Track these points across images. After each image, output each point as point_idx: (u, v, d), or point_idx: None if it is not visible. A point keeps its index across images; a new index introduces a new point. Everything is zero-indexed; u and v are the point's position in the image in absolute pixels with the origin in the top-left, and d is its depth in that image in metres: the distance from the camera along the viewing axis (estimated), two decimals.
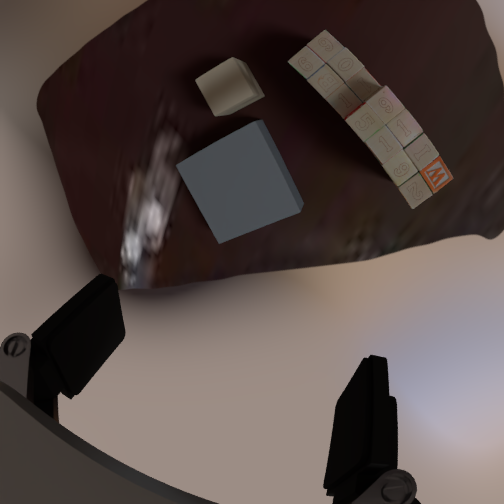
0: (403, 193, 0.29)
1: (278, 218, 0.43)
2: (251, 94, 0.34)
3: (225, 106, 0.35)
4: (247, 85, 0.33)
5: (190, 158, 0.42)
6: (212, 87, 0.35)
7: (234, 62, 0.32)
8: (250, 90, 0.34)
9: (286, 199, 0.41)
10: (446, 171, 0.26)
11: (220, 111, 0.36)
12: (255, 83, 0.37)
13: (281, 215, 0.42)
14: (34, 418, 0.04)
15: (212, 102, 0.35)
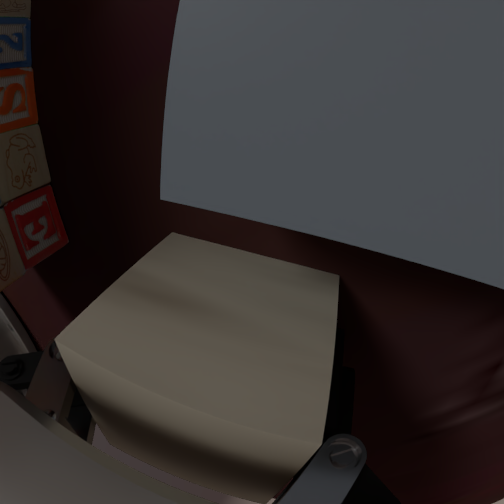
0: None
1: None
2: (64, 349, 0.06)
3: (218, 427, 0.05)
4: (76, 380, 0.06)
5: None
6: (223, 476, 0.07)
7: (107, 437, 0.08)
8: (67, 360, 0.06)
9: None
10: None
11: (266, 436, 0.05)
12: None
13: None
14: (34, 418, 0.04)
15: (269, 467, 0.05)
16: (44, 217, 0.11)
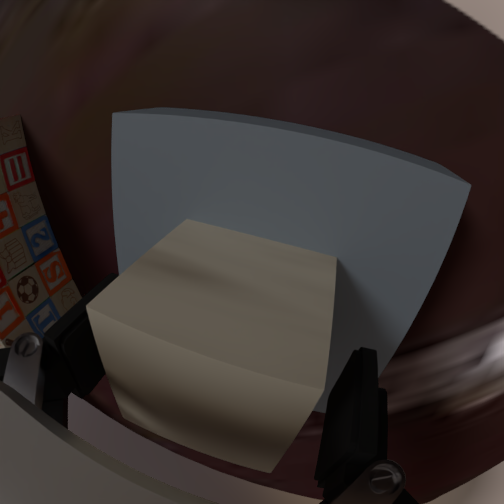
0: None
1: (180, 123, 0.10)
2: (94, 314, 0.07)
3: (234, 377, 0.06)
4: (101, 347, 0.07)
5: None
6: (234, 439, 0.08)
7: (122, 409, 0.09)
8: (95, 327, 0.07)
9: (129, 169, 0.11)
10: None
11: (276, 383, 0.06)
12: None
13: (165, 128, 0.10)
14: (34, 418, 0.04)
15: (277, 422, 0.07)
16: None
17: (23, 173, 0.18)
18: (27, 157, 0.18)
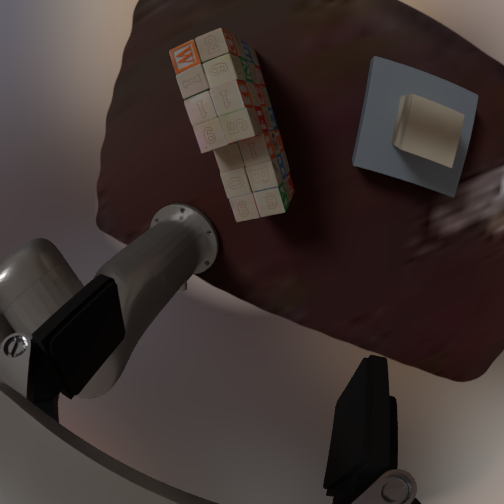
0: (225, 45, 0.24)
1: (401, 66, 0.26)
2: (415, 96, 0.23)
3: (448, 111, 0.22)
4: (411, 108, 0.23)
5: (436, 189, 0.31)
6: (444, 142, 0.24)
7: (404, 142, 0.25)
8: (413, 100, 0.23)
9: (380, 76, 0.27)
10: (174, 58, 0.25)
11: (456, 112, 0.22)
12: (400, 112, 0.27)
13: (396, 66, 0.26)
14: (34, 418, 0.04)
15: (456, 128, 0.23)
16: (290, 181, 0.40)
17: (262, 80, 0.34)
18: (261, 73, 0.34)
